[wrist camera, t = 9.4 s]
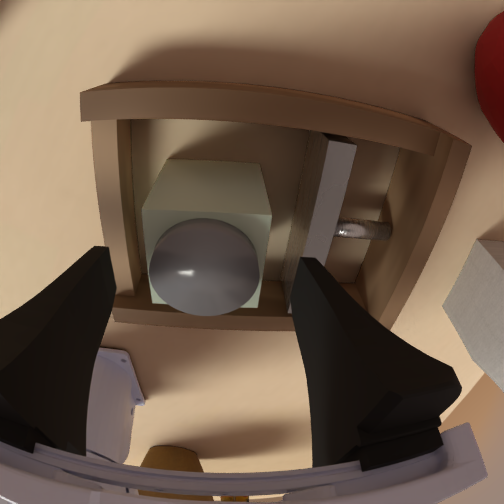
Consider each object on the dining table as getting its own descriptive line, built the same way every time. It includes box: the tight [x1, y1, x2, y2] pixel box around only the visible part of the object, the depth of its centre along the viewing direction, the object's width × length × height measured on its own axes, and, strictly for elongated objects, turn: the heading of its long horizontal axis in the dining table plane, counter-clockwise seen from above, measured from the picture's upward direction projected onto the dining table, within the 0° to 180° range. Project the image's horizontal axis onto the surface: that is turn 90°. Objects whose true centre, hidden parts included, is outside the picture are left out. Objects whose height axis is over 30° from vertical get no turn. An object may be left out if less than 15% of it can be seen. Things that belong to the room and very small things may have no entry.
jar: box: [141, 159, 272, 316], centre depth 14 cm, size 4×4×6 cm
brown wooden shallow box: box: [80, 81, 472, 331], centre depth 15 cm, size 12×16×4 cm
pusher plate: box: [281, 130, 391, 313], centre depth 16 cm, size 9×5×3 cm, turn 174°
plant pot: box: [137, 446, 214, 501], centre depth 33 cm, size 15×15×16 cm
